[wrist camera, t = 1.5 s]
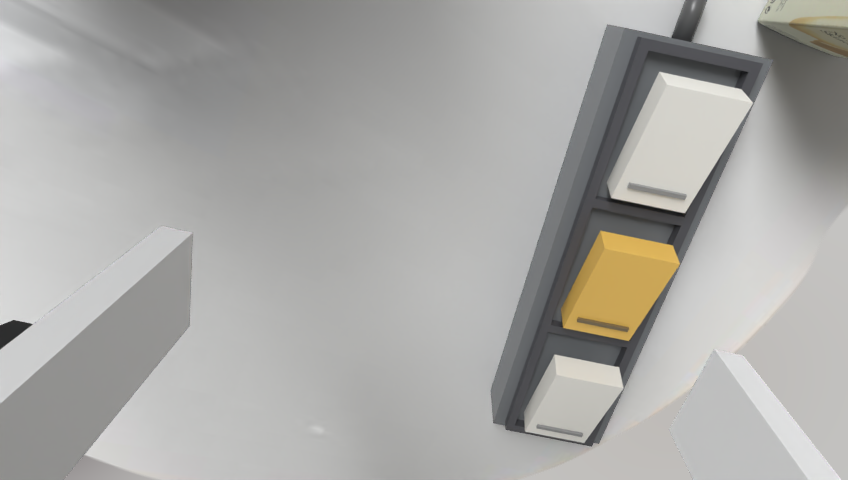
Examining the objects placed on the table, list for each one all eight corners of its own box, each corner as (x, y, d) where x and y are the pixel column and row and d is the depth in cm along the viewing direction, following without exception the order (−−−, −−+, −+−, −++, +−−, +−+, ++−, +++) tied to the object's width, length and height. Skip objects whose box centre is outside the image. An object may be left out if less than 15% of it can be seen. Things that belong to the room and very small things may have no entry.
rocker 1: (554, 354, 38) (557, 377, 37) (619, 367, 38) (624, 390, 37) (524, 411, 43) (524, 433, 41) (581, 422, 43) (584, 445, 42)
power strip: (623, -27, 33) (647, -30, 29) (761, 4, 33) (806, 5, 29) (490, 390, 47) (493, 430, 43) (588, 409, 48) (601, 451, 43)
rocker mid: (600, 230, 34) (605, 250, 32) (672, 245, 34) (681, 266, 33) (560, 309, 39) (563, 330, 37) (624, 322, 39) (629, 343, 37)
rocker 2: (659, 71, 30) (668, 86, 28) (741, 89, 30) (754, 104, 28) (606, 182, 35) (611, 199, 33) (677, 196, 35) (685, 215, 33)
